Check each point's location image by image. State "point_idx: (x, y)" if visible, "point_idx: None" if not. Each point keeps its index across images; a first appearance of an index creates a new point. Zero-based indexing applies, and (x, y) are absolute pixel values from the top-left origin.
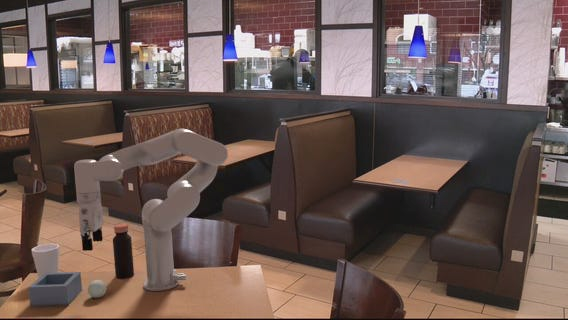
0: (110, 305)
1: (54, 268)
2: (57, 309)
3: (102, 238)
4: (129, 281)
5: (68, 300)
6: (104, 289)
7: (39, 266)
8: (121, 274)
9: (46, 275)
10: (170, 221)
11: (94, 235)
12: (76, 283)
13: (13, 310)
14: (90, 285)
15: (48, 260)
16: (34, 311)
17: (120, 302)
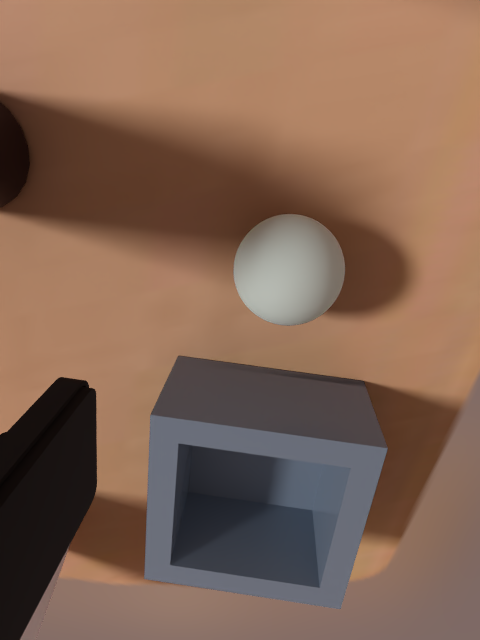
0: (435, 158)
1: None
2: (390, 418)
3: (47, 392)
4: (68, 99)
5: (361, 393)
6: (316, 221)
7: (44, 613)
8: (13, 162)
9: (181, 566)
10: None
11: (53, 551)
12: (235, 400)
13: None
14: (314, 314)
15: None
16: (379, 498)
17: (410, 98)
